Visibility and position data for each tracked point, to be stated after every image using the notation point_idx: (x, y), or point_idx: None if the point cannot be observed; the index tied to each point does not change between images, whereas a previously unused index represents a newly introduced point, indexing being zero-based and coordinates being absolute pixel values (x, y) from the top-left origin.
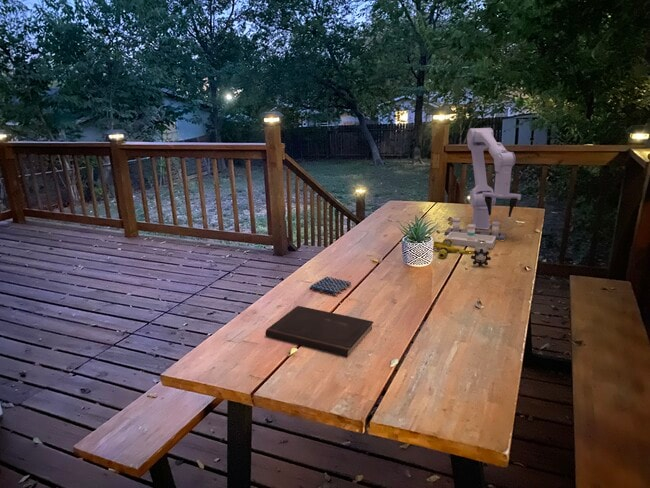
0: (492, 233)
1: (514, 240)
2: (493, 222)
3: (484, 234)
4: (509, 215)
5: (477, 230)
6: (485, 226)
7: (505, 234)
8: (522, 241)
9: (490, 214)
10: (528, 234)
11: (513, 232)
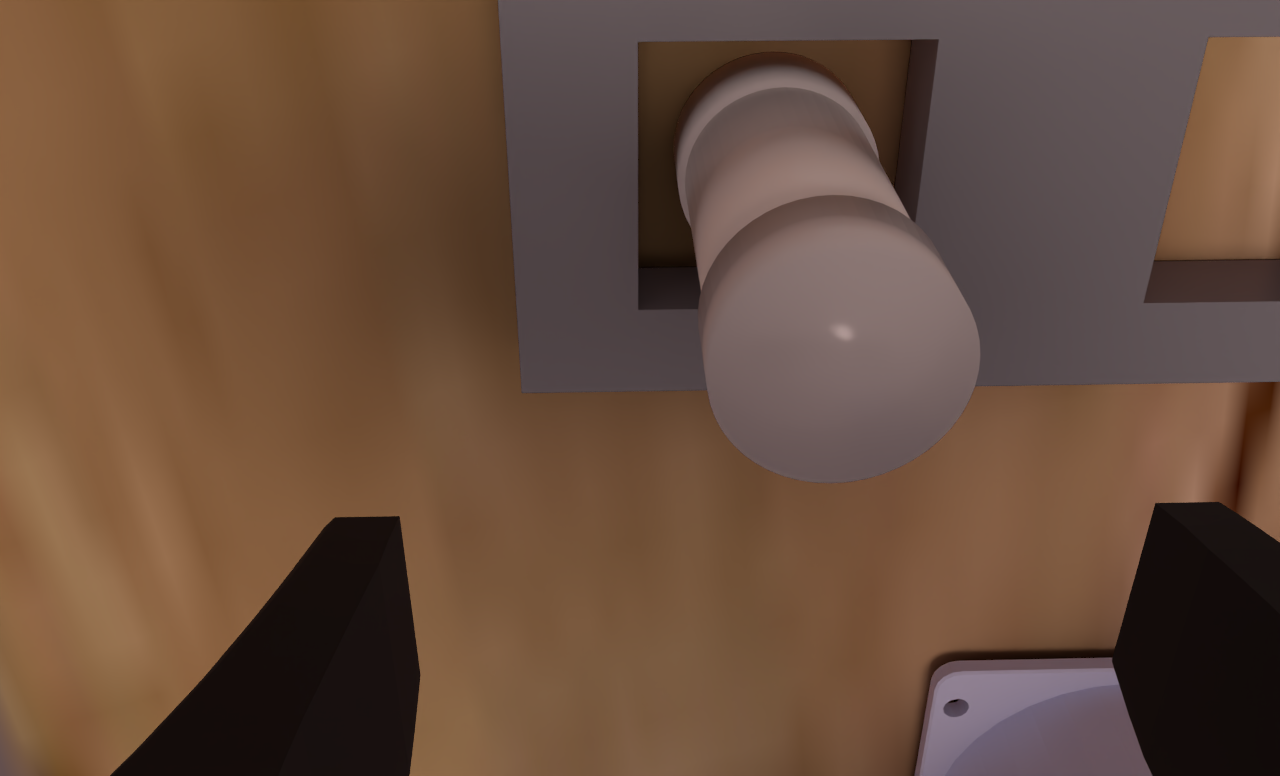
0: (856, 130)
1: (271, 106)
2: (935, 270)
3: (1065, 73)
4: (341, 544)
5: (1226, 377)
6: (1011, 741)
7: (520, 277)
8: (68, 91)
9: (1158, 561)
10: (130, 642)
11: (434, 669)
